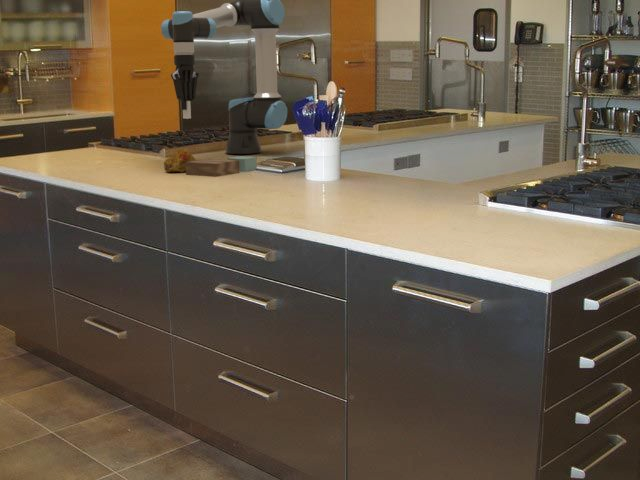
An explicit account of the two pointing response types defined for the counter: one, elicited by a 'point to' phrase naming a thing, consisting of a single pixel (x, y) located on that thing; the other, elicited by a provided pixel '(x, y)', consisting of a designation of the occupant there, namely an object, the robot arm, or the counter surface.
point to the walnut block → (212, 167)
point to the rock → (178, 161)
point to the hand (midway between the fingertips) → (187, 118)
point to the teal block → (245, 163)
